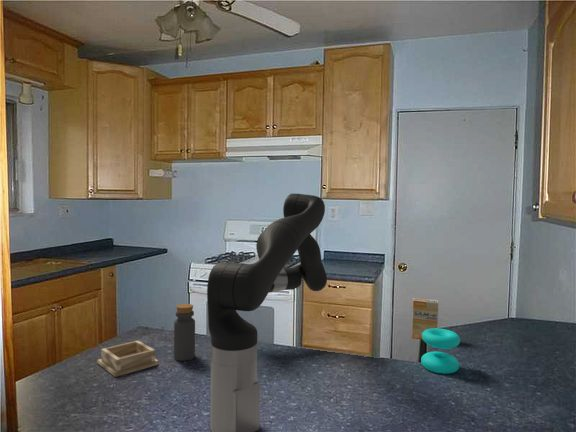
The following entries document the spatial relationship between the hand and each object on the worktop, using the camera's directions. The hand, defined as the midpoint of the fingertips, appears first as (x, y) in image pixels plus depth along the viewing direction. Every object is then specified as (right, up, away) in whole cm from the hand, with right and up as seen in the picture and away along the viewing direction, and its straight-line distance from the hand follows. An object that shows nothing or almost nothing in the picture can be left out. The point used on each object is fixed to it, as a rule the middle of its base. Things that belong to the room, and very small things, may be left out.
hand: (222, 285), depth 126 cm
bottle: (-10, -20, -5) cm, 23 cm away
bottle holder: (-24, -20, -10) cm, 33 cm away
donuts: (+62, -22, -9) cm, 66 cm away
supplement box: (+66, -20, +15) cm, 70 cm away
